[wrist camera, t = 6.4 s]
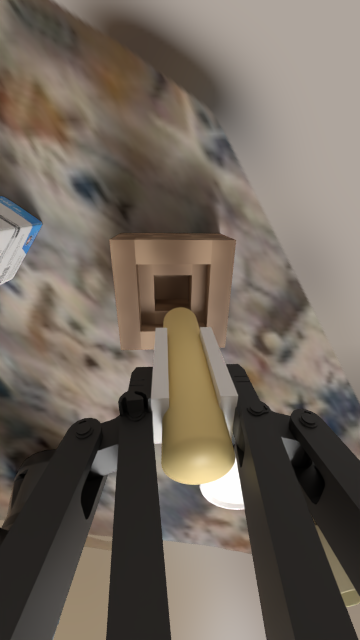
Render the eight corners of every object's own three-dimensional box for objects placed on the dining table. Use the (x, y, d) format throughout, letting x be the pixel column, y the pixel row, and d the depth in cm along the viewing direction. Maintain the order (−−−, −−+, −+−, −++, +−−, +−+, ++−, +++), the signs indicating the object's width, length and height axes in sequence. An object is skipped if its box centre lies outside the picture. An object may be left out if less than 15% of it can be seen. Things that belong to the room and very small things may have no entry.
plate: (183, 461, 47) (184, 467, 46) (286, 426, 45) (289, 432, 44) (217, 513, 56) (218, 520, 55) (304, 487, 54) (307, 493, 53)
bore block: (128, 323, 34) (121, 350, 27) (120, 233, 29) (109, 239, 22) (213, 322, 35) (224, 347, 28) (219, 233, 30) (235, 240, 23)
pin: (164, 338, 20) (163, 487, 10) (162, 308, 19) (159, 438, 8) (196, 337, 21) (232, 481, 10) (197, 306, 19) (238, 433, 9)
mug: (338, 532, 63) (375, 600, 52) (301, 542, 63) (330, 610, 53) (337, 510, 58) (377, 580, 47) (297, 521, 59) (327, 591, 48)
